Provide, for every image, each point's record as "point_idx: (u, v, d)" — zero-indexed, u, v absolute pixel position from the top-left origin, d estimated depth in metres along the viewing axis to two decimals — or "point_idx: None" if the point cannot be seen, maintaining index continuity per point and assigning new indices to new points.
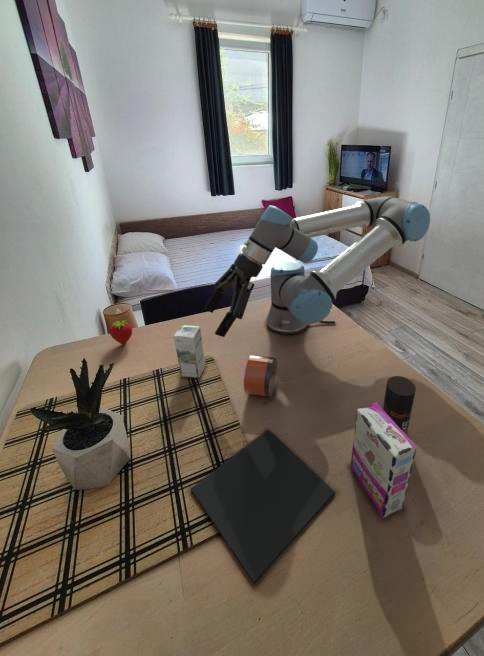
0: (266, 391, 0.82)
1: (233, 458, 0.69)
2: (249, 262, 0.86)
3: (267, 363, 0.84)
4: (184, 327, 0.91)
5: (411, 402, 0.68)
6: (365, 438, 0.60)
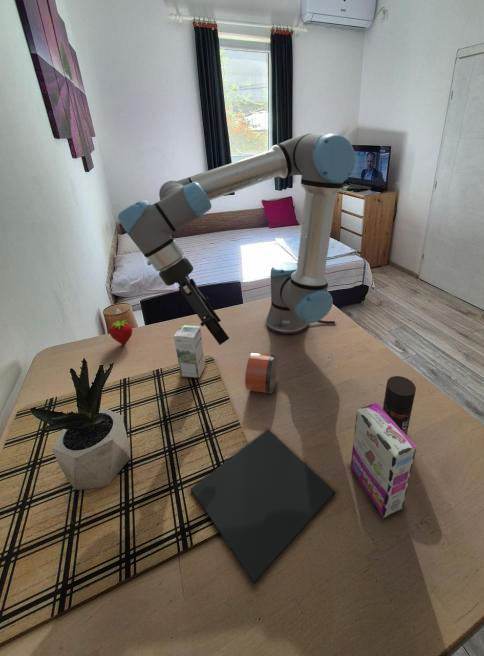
0: (267, 384, 0.83)
1: (233, 458, 0.69)
2: (166, 273, 0.74)
3: (269, 357, 0.86)
4: (184, 327, 0.91)
5: (411, 402, 0.68)
6: (365, 438, 0.60)
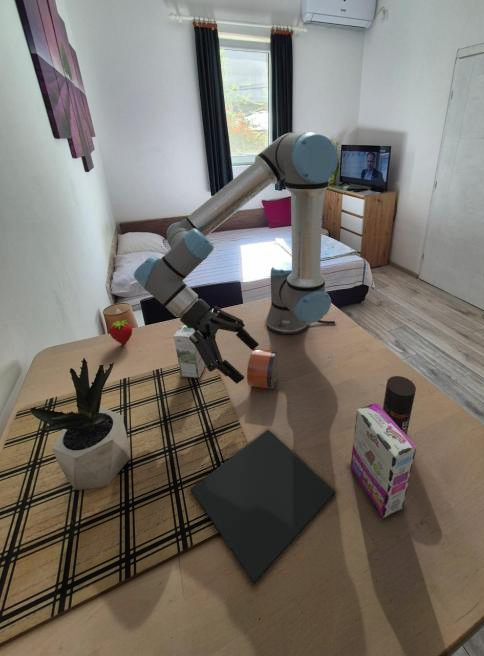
0: (269, 374, 0.84)
1: (233, 458, 0.69)
2: (181, 320, 0.80)
3: (272, 351, 0.89)
4: (184, 327, 0.91)
5: (411, 402, 0.68)
6: (365, 438, 0.60)
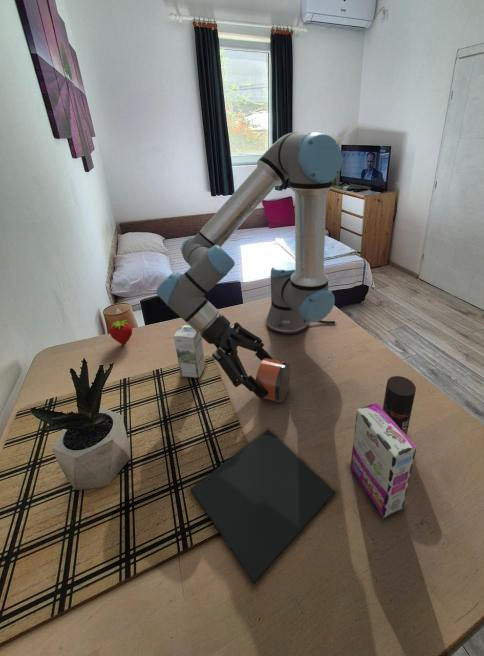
0: (278, 379, 0.80)
1: (233, 458, 0.69)
2: (202, 335, 0.81)
3: None
4: (184, 327, 0.91)
5: (411, 402, 0.68)
6: (365, 438, 0.60)
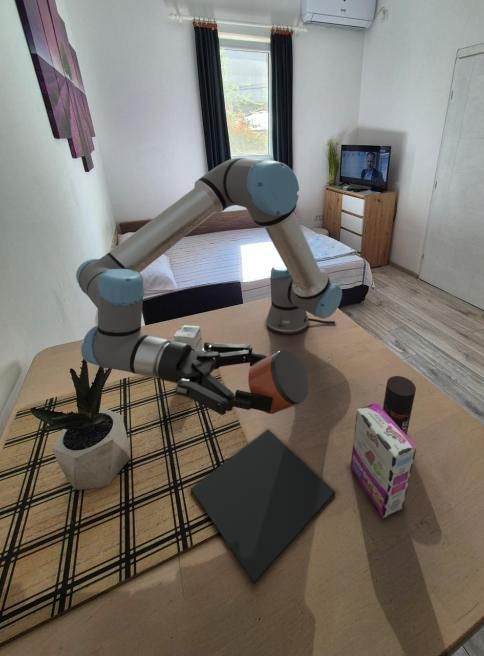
0: (273, 372, 0.56)
1: (233, 458, 0.69)
2: (160, 378, 0.61)
3: None
4: (184, 327, 0.91)
5: (411, 402, 0.68)
6: (365, 438, 0.60)
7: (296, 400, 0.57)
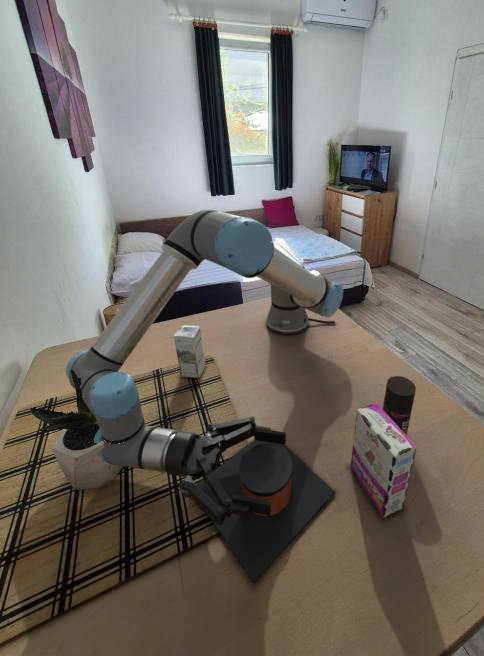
0: (240, 479, 0.59)
1: (233, 458, 0.69)
2: None
3: None
4: (184, 327, 0.91)
5: (411, 402, 0.68)
6: (365, 438, 0.60)
7: (272, 489, 0.57)
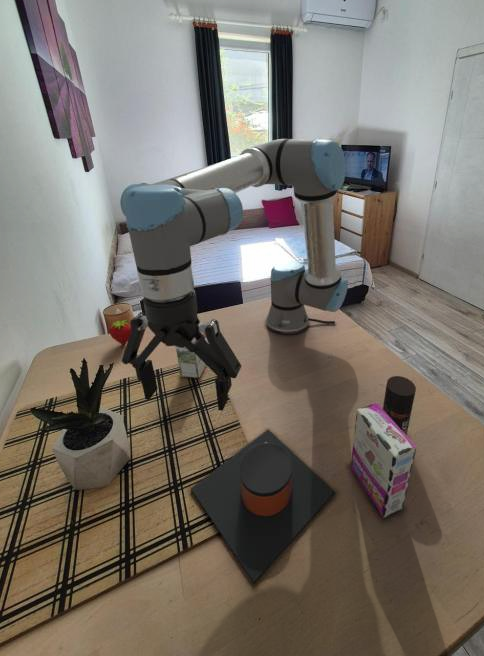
0: (240, 479, 0.59)
1: (233, 458, 0.69)
2: (184, 303, 0.47)
3: None
4: None
5: (411, 402, 0.68)
6: (365, 438, 0.60)
7: (272, 489, 0.57)
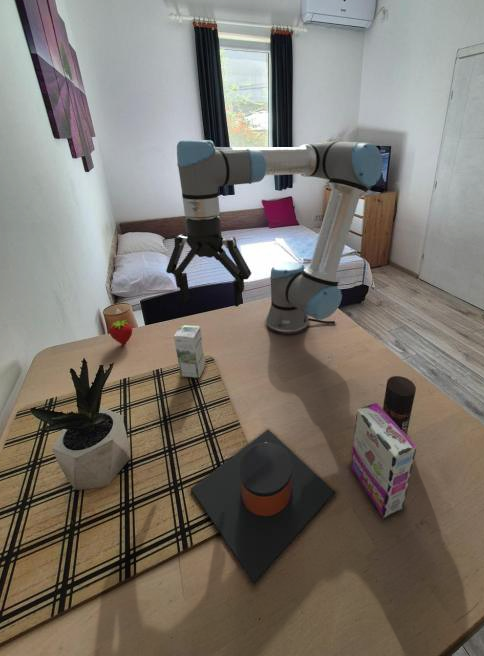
0: (240, 479, 0.59)
1: (233, 458, 0.69)
2: (213, 222, 0.69)
3: None
4: (184, 327, 0.91)
5: (411, 402, 0.68)
6: (365, 438, 0.60)
7: (272, 489, 0.57)
